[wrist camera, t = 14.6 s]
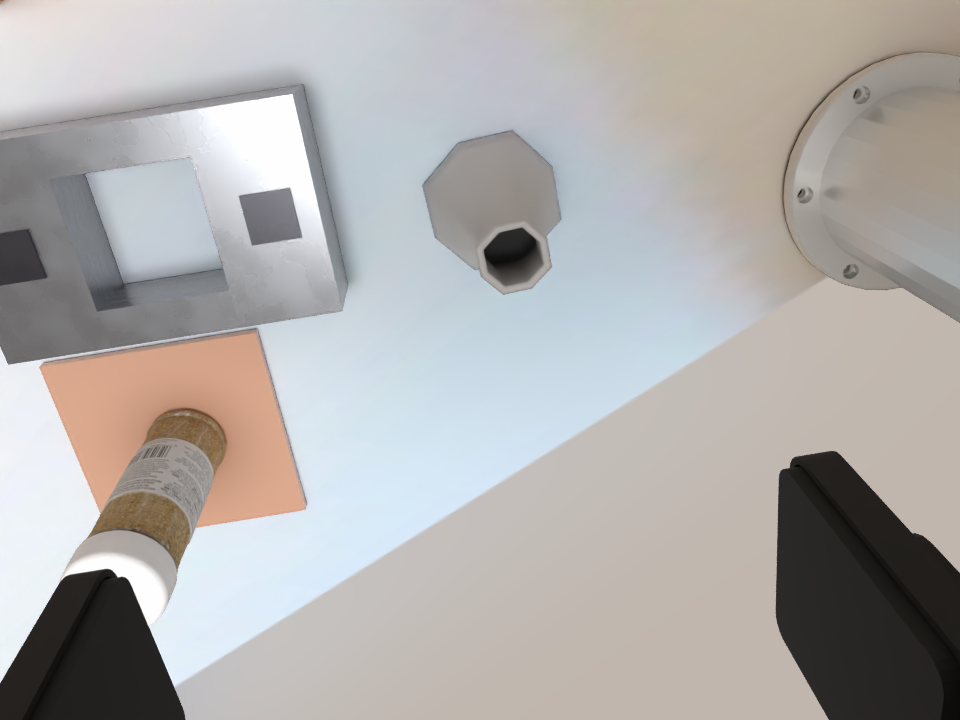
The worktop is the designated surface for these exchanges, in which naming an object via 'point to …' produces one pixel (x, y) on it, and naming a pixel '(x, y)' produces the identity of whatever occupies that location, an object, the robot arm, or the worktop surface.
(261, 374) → the coaster
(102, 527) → the sprinkles bottle
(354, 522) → the worktop surface
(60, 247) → the socket bar
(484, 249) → the flask
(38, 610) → the worktop surface
